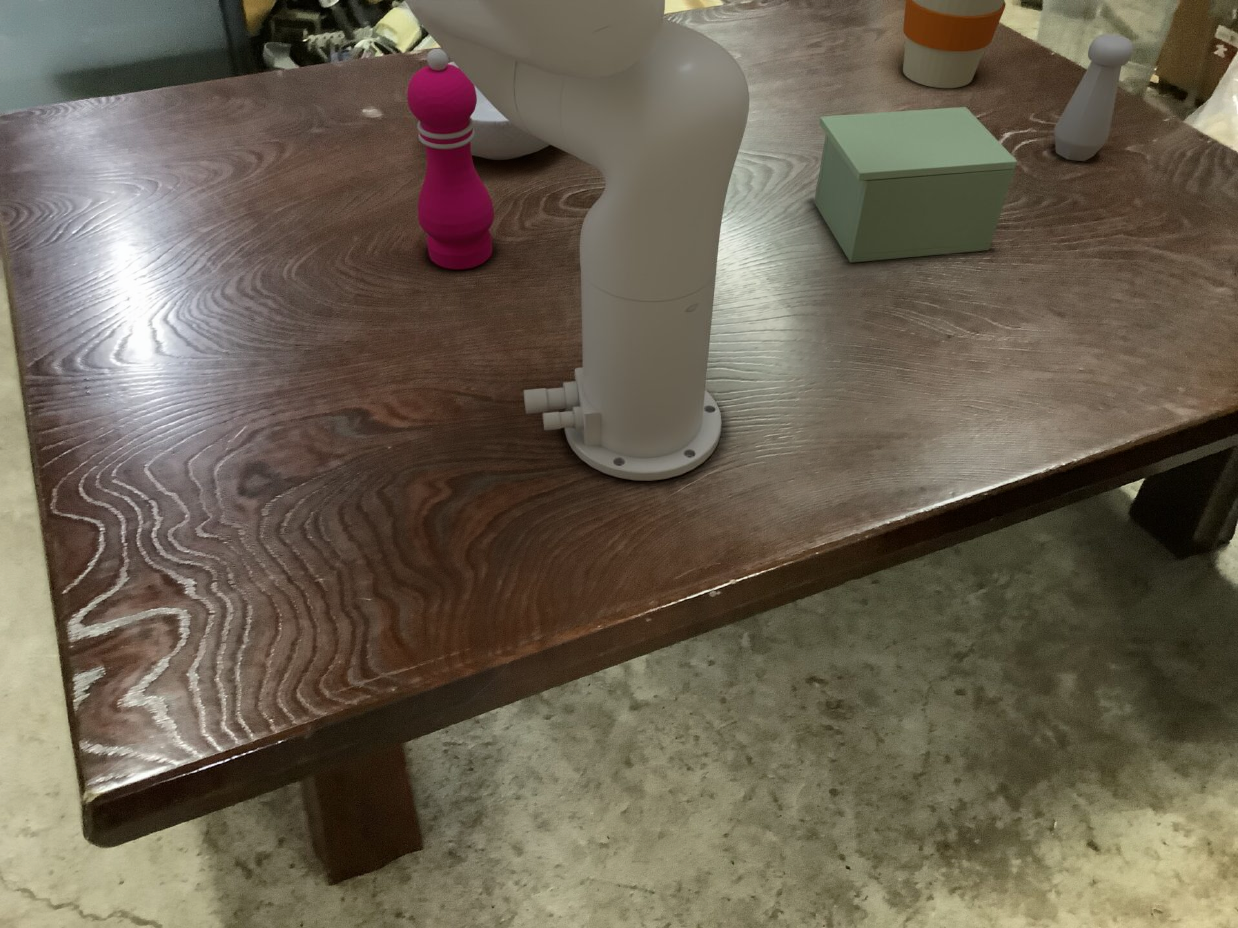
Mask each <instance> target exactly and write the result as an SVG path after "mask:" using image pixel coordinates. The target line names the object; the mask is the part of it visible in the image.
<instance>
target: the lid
mask: <svg viewBox="0 0 1238 928" xmlns="http://www.w3.org/2000/svg"><path fill="white" fill-rule="evenodd" d="M818 124H819V126H820V127H821V129H822V130H823V132H824V133H825V135H826V134H827V136H828V137H829V139H830V140H831V142H832V143H833V145H834V146H835V148H836V149H837V150H838V152H839V153H840V155H841V156H842V158H843V159H844V161H845V162H846V163H847V165H848V166H849V168H850V169H851V171H852V172H853V174H854V175H855V176H856V178H857V179H858V180H859V181H860V180H873V179H886V178H899V177H912V176H926V175H939V174H952V173H965V172H978V171H991V170H1005V169H1015V170H1016V167H1017V163H1018V160H1017V159H1016V158H1015V157H1014V156H1013V155H1012V154H1011V153H1010V152H1009V151H1008V150H1007V149H1006V147H1004V145H1003V144H1002V143H1000V141H999V140H998V139H997V138H996V137H995V136H994V135H993V134H992V133H991V132H990V131H989V130H988V128H987V127H985V126H984V124H982V122H981V121H980V120H979V119H978V118H977V117H976V116H975V115H974V114H973V113H972V112H971V110H970V109H968V107H966V106H959V107H945V108H944V107H943V108H942V107H941V108H930V109H913V110H912V109H911V110H898V111H883V112H870V113H869V112H868V113H867V112H866V113H853V114H839V115H825V116H824V115H823V116H820V117H819V122H818Z"/></svg>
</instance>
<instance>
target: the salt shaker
mask: <svg viewBox="0 0 1238 928" xmlns="http://www.w3.org/2000/svg"><path fill="white" fill-rule="evenodd" d="M1133 53H1134V44H1133V42H1132V41H1131V39H1129V38H1127V37H1126V36H1123V35H1120V34H1115V33H1104V34H1100V35H1098V36H1096V37H1095V38H1094V39H1093V40H1092V41H1091V42H1090V45H1089V48H1088V50H1087V58H1088V60H1089V61H1090V63H1089V65H1088V67H1087V69H1086V71H1085V73H1084V74H1083V76H1082V78H1081V80H1080V81H1079V84H1077V87H1076V89H1075V91H1074V92H1073V94H1072V96H1071V98H1070V99H1069V101H1068V103H1067V105H1066V106H1065V108H1064V110H1063V112H1062V114H1061V115H1060V116H1059V119H1058V121H1057V122H1056V124H1055V126H1054V128H1053V136H1054V145H1055V146H1054V147H1055V153H1056V154H1057V155H1059V156H1061V157H1062V158H1064V159H1066V160H1068V161H1078V162H1079V161H1080V162H1085V161H1087V160H1089V159H1091V158H1093V157H1094V156H1095V155H1096V154H1097V153H1098V152H1099V151H1100V150H1101V148H1102V147H1103V146H1105V144H1106V143H1107V141H1108V139H1109V137H1110V132H1111V125H1112V122H1113V115H1114V108H1115V104H1116V99H1117V93H1118V87H1119V82H1120V77H1121V70H1122V67H1123V66H1126V64H1128V63H1129V61H1130V60H1131V58H1132V56H1133Z"/></svg>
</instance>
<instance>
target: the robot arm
mask: <svg viewBox="0 0 1238 928" xmlns="http://www.w3.org/2000/svg"><path fill="white" fill-rule="evenodd" d="M404 1H405V3H406V5H407V6H408V8H409V10H410V11H411V13H412V14H413V16H414V17H415V18H416V19H417V21H418V23H419V24H420V25H421V26H422V27H423V29H424V30H425V31H426V33H428V34H429V36H430V37H431V38H432V39H433V40H434V41H435V42H436V44H437V45H438V46H439V48H440V49H441V50H443V51H444V52H445V53H446V54H447V57H448V58H450V60H451V62H454V63H455V64H456V65H457V66H458V67H459V68H460V70H461V71H462V72H463V73H464V74H465V75H466V76H467V78H468V79H469V80H470V81H471V82H472V83H473V84H474V85H475V86H476V88H477V89H478V90H479V91H480V92H481V93H482V94H483V95H484V96H485V98H486V99H487V100H488V101H489V102H490V103H491V104H492V105H493V106H494V107H495V108H496V109H497V110H498V111H499V112H500V113H501V114H502V115H503V116H504V117H505V118H506V119H508V120H509V121H510V122H511V123H512V124H514V125H515V126H517V127H518V128H520V129H521V130H523V131H525V132H527V133H528V134H530V135H532V136H534V137H536V138H538V139H540V140H542V141H544V142H546V143H548V144H550V145H549V146H552V147H555V148H557V149H559V150H560V151H563V152H565V153H567V154H569V155H571V156H574V157H576V158H577V159H578V160H580V161H582V162H584V163H586V164H588V165H589V166H592V167H594V168H595V169H596V170H598V171H599V172H600V173H601V174H602V176H603V178H604V183H605V184H604V190H603V192H602V194H601V195H600V197H599V198H598V199H596V201H595V202H594V203H593V205H592V206H591V207H590V208H589V210H588V211H587V213H586V215H585V217H584V219H583V222H582V226H581V229H580V236H579V266H580V296H581V297H580V299H581V300H580V301H581V304H580V305H581V346H582V347H581V348H582V349H581V350H582V351H581V352H582V354H581V355H582V367H575V368H574V380H573V381H565V382H563V383H562V387H553V388H546V387H542V388H530V389H523V401H524V411H525V415H530V414H531V415H534V414H542V423H543V430H544V432H546V431H552V430H553V431H554V430H555V431H556V430H561V429H564V433H565V437H566V441H567V443H568V444H569V446H570V448H571V450H572V451H573V452H574V453H575V454H576V456H577V457H578V458H579V459H580V460H582V461H583V462H584V463H586V464H587V465H588V466H590V467H591V468H593V469H595V470H598V471H599V472H601V473H602V474H606V475H608V476H611V477H615V478H617V479H618V478H619V479H624V480H631V481H650V482H651V481H658V480H659V481H661V480H666V479H667V480H668V479H670V478H674V477H678V476H681V475H684V474H687V472H691V471H693V470H694V469H695V468H697V467H698V466H700V465H701V464H703V463H704V462H706V460H708V458H709V457H710V456H712V454H713V453H714V451H715V449H716V448H717V446H718V445H719V441H720V437H721V432H722V422H723V421H722V414H721V410H720V408H719V406H718V403H717V401H716V400H715V399H714V397H713V396H712V394H711V393H710V392H709V391H708V390H706V385H707V374H708V363H709V354H710V353H709V352H710V343H711V342H710V341H711V330H712V321H713V312H714V302H715V301H714V300H715V288H716V278H717V267H718V256H719V248H720V247H719V246H720V236H721V229H722V221H723V215H724V210H725V203H726V199H727V195H728V189H729V185H730V181H731V178H732V174H733V171H734V167H735V165H736V164H735V163H736V161H737V157H738V154H739V151H740V148H741V145H742V141H743V139H744V136H745V135H744V134H745V131H746V128H747V123H748V118H749V111H750V91H749V85H748V81H747V78H746V75H745V73H744V72H743V69H742V67H741V65H740V64H739V62H738V61H737V60H736V59H735V58H734V56H733V55H732V53H730V52H729V51H728V50H727V49H726V48H725V47H724V46H722V45H721V44H719V42H717V41H715V40H713V39H712V38H710V37H709V36H707V35H705V34H704V33H702V32H699V31H697V30H695V29H694V28H690V27H688V26H686V25H683V24H681V23H678V22H675V21H673V20H669V19H667V18H664V16H665V11H666V0H404ZM557 410H565V411H557ZM549 411H551V412H549Z"/></svg>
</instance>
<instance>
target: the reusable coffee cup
mask: <svg viewBox="0 0 1238 928" xmlns="http://www.w3.org/2000/svg"><path fill="white" fill-rule="evenodd" d="M1006 4H1007V3H1006V0H905V7H904V15H903V16H904V18H903V29H902V31H903V34H904V35H905V41H904V42H905V43H904V55H903V64H902V65H903V66H902V72H903V74H904V76H905V77H906V78H907V79H909V80H911V81H912V82H914V83H917V84H920V85H922V86H926V87H931V88H939V89H956V88H961V87H964V86H967V85H968V84H970V83H971V82H972V81H973V79H974V76H975V74H976V72H977V69H978V67H979V63H980V62H981V59H982V57H983V54H984V51H985V49H986V47H987V46H989V45H990V44H991V43H992V40H993V38H994V36H995V33H996V32H997V28H998V26H999V24H1000V22H1001V19H1002V16H1003V15H1004V11H1005V10H1006Z"/></svg>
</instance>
